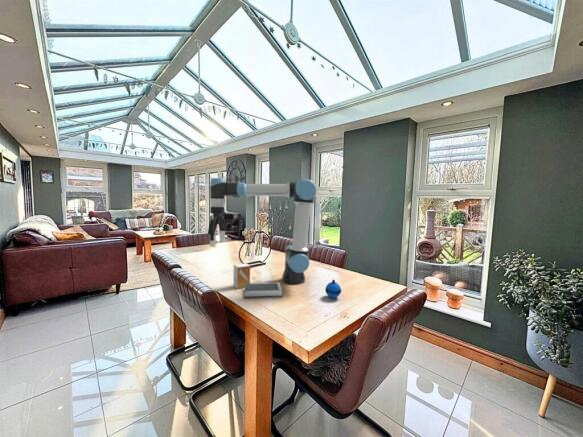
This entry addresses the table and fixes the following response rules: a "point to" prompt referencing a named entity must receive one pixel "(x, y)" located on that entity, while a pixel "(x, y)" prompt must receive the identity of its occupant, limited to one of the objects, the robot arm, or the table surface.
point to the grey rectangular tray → (262, 290)
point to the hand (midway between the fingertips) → (217, 244)
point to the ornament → (333, 289)
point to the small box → (241, 275)
